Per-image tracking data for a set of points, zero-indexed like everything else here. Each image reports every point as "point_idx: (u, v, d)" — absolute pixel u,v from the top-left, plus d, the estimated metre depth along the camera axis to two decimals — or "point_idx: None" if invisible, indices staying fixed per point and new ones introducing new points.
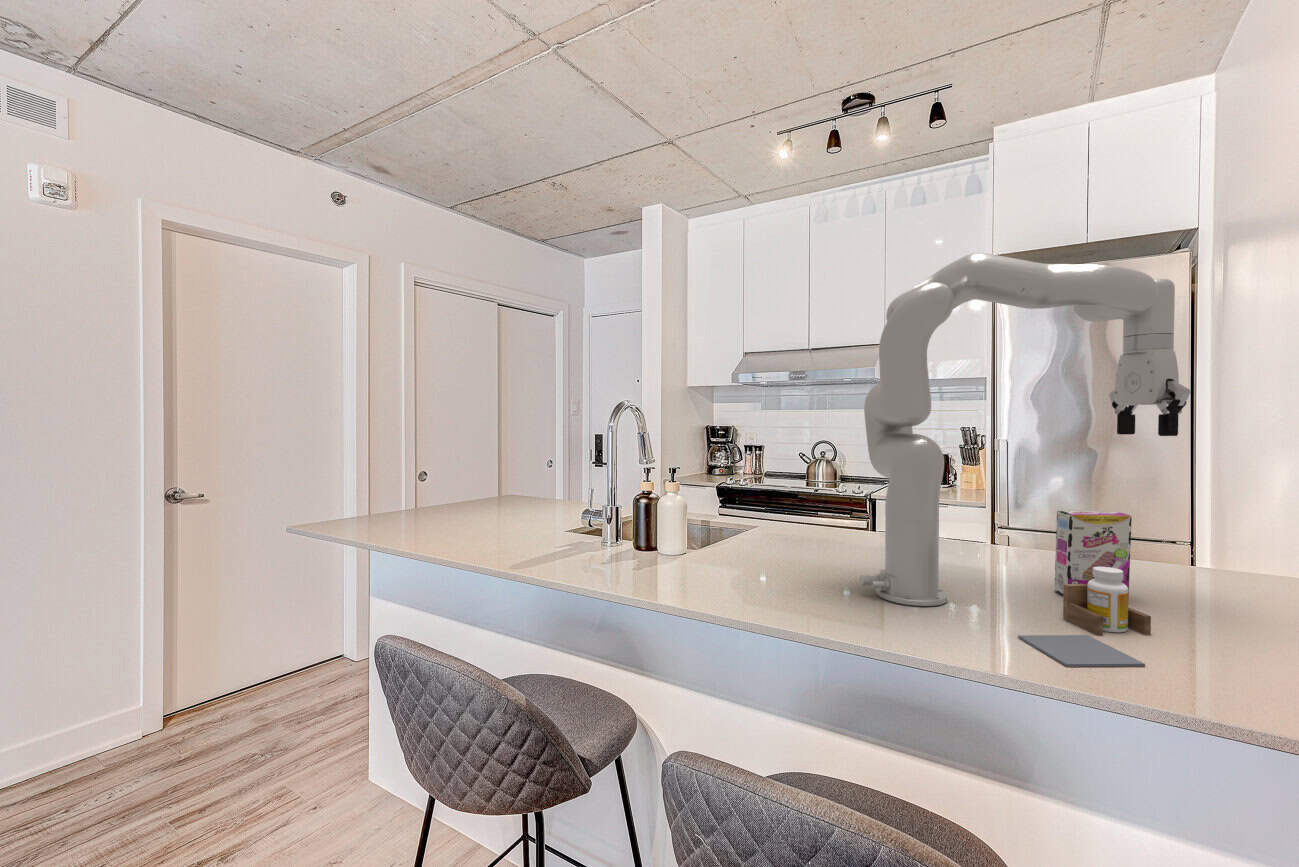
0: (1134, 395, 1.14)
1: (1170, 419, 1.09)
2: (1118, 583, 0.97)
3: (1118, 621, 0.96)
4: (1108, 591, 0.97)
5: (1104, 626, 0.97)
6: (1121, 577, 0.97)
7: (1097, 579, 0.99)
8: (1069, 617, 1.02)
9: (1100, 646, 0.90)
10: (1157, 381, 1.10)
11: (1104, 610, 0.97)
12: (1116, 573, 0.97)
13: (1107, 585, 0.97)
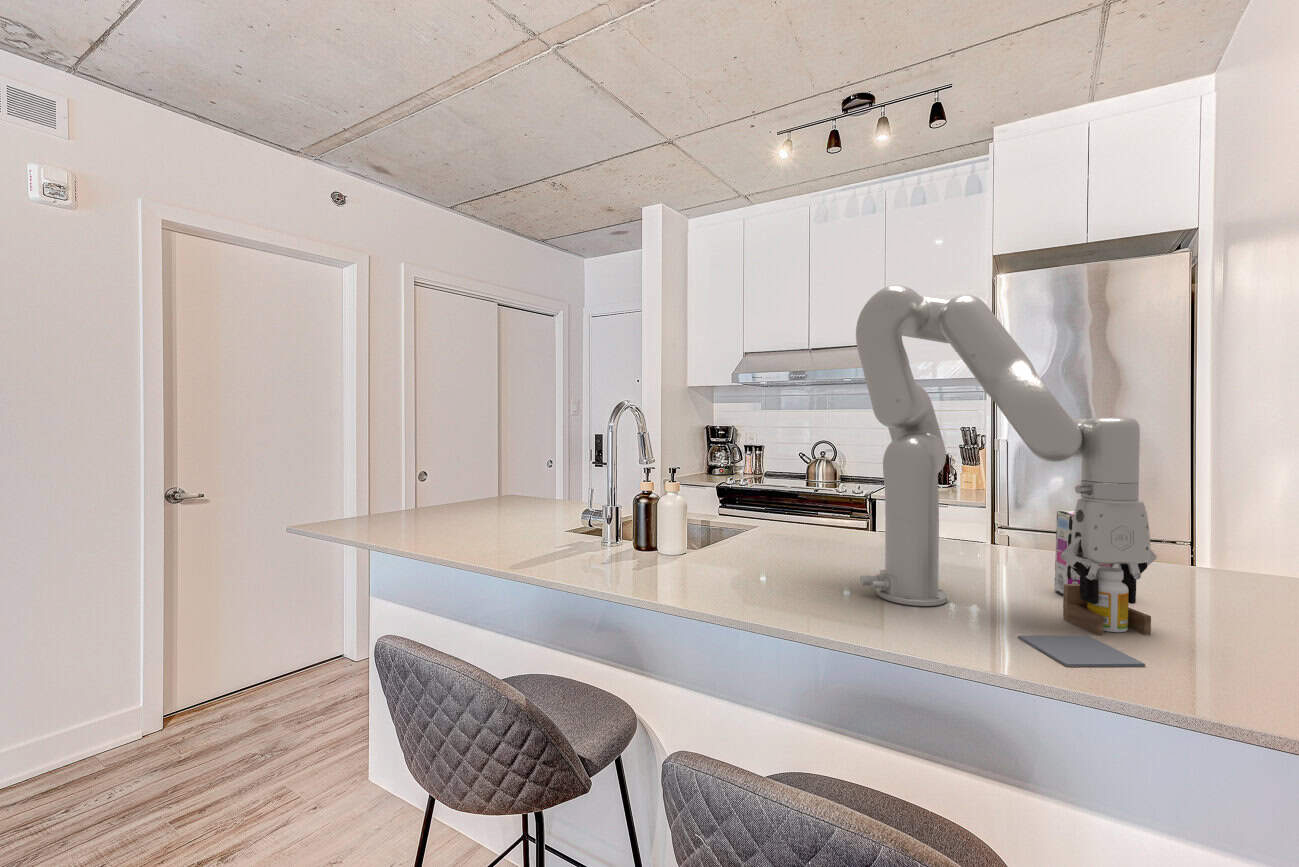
0: (1125, 553, 0.96)
1: None
2: (1118, 583, 0.97)
3: (1118, 621, 0.96)
4: (1108, 590, 0.97)
5: (1104, 626, 0.97)
6: (1121, 577, 0.97)
7: (1097, 579, 0.99)
8: (1069, 617, 1.02)
9: (1100, 646, 0.90)
10: None
11: (1104, 610, 0.97)
12: (1116, 573, 0.97)
13: (1107, 585, 0.97)
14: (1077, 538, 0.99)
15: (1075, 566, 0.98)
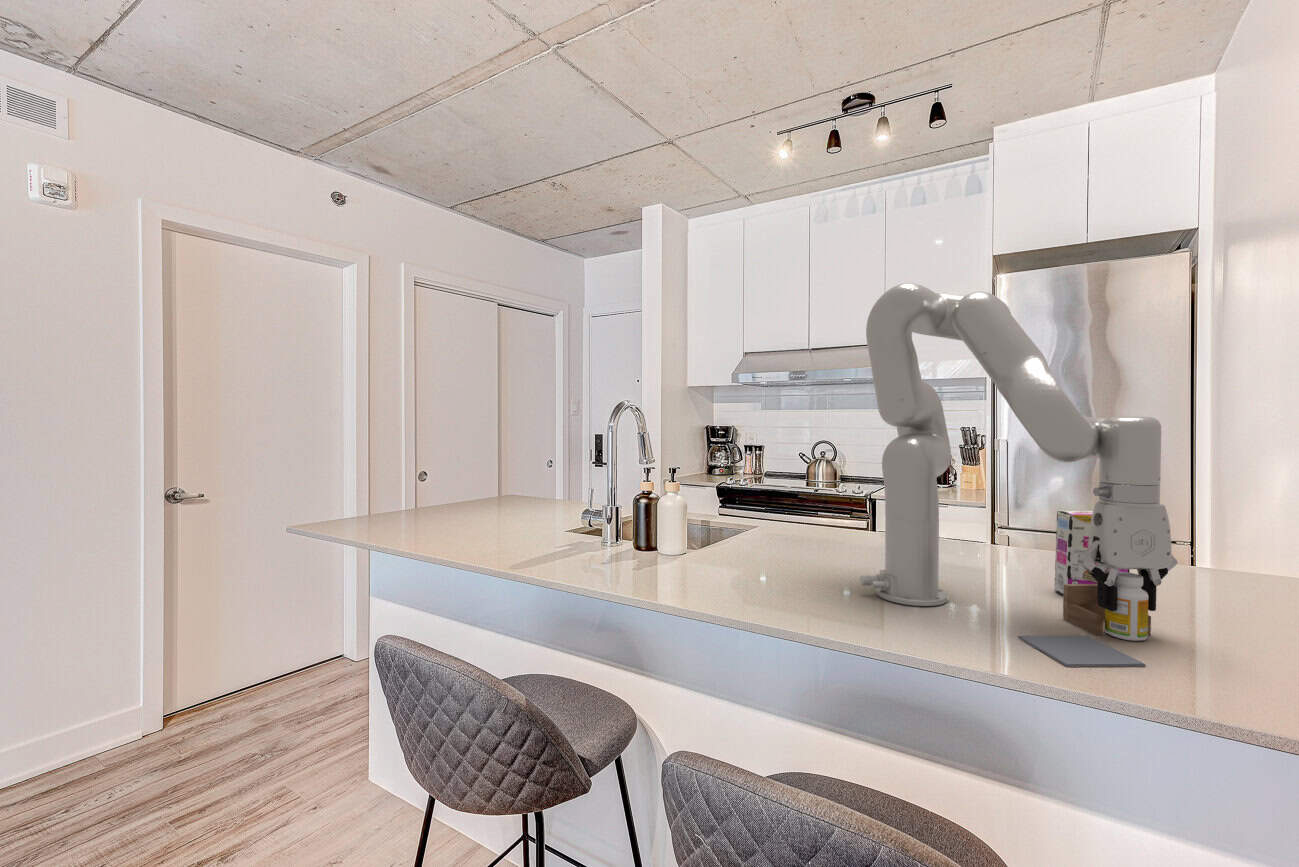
0: (1145, 558, 0.92)
1: None
2: (1138, 589, 0.93)
3: (1138, 629, 0.92)
4: (1127, 597, 0.93)
5: (1123, 634, 0.93)
6: (1141, 583, 0.93)
7: (1116, 585, 0.95)
8: (1069, 617, 1.02)
9: (1100, 646, 0.90)
10: None
11: (1124, 617, 0.93)
12: (1136, 579, 0.93)
13: (1126, 591, 0.93)
14: (1095, 542, 0.95)
15: (1093, 572, 0.94)
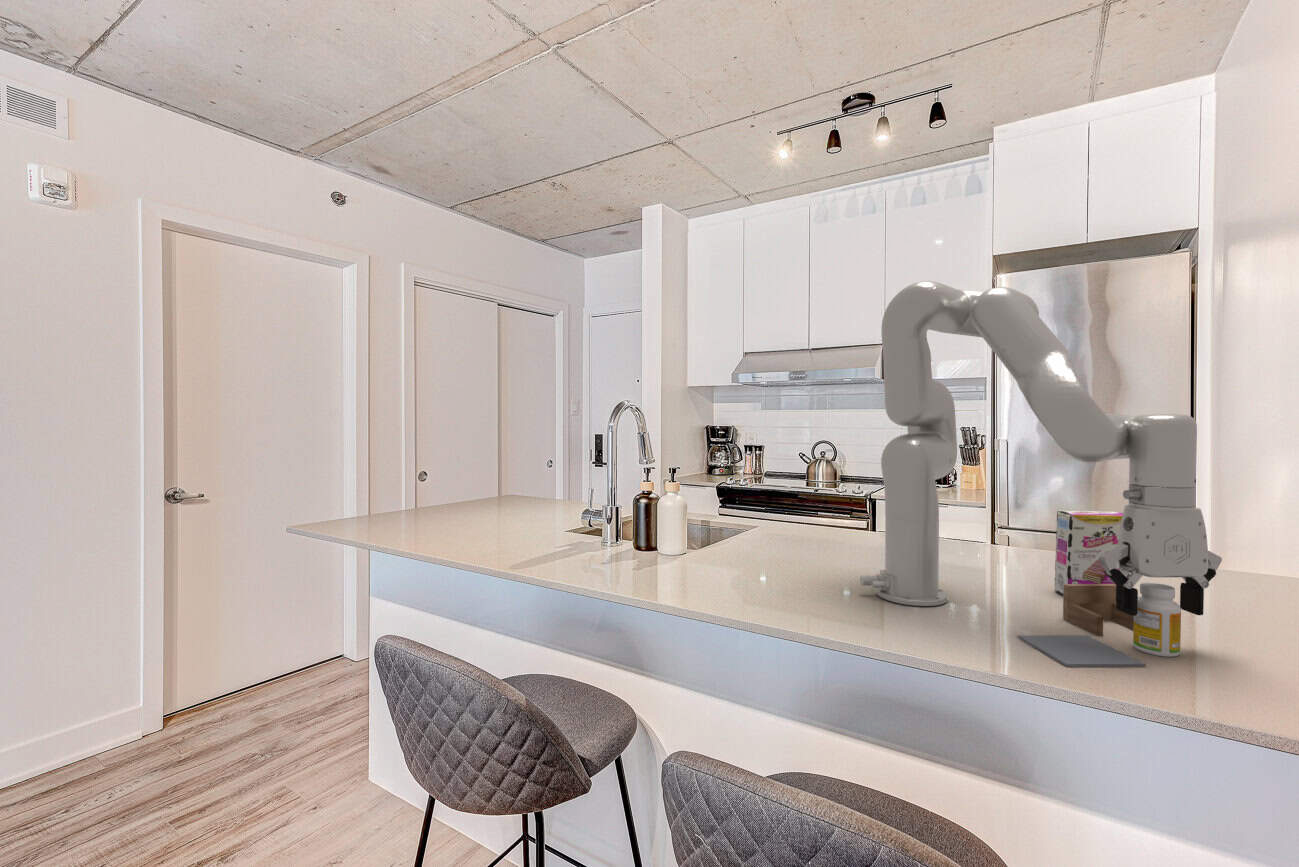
0: (1180, 566, 0.86)
1: None
2: (1169, 602, 0.87)
3: (1171, 644, 0.87)
4: (1158, 610, 0.87)
5: (1154, 649, 0.87)
6: (1173, 595, 0.87)
7: (1145, 597, 0.89)
8: (1069, 617, 1.02)
9: (1100, 646, 0.90)
10: None
11: (1155, 632, 0.87)
12: (1168, 591, 0.87)
13: (1157, 604, 0.87)
14: (1124, 545, 0.89)
15: (1111, 573, 0.88)
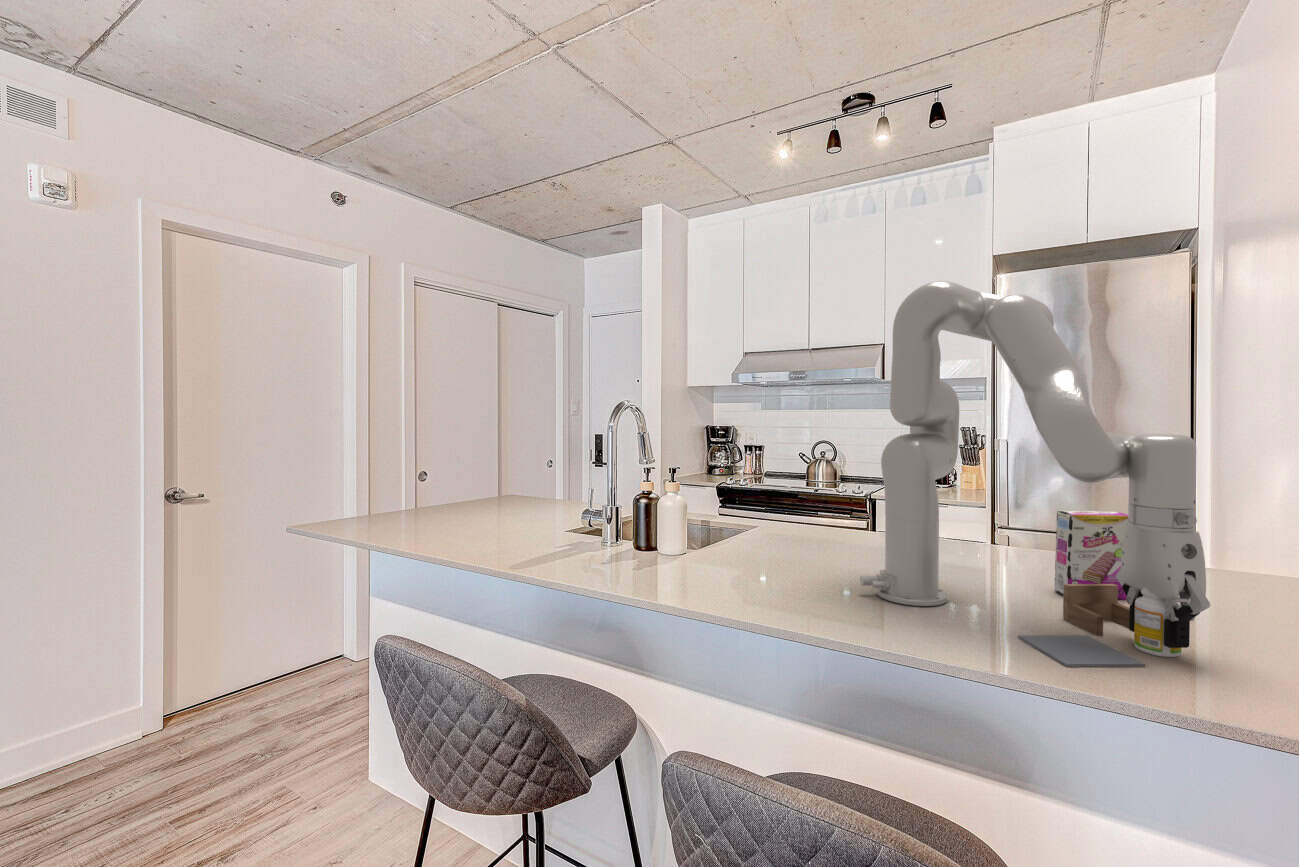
0: None
1: None
2: None
3: None
4: (1159, 611, 0.87)
5: (1155, 650, 0.87)
6: None
7: (1147, 597, 0.89)
8: (1069, 617, 1.02)
9: (1100, 646, 0.90)
10: None
11: (1156, 632, 0.87)
12: None
13: (1158, 604, 0.87)
14: (1189, 578, 0.84)
15: (1199, 611, 0.83)
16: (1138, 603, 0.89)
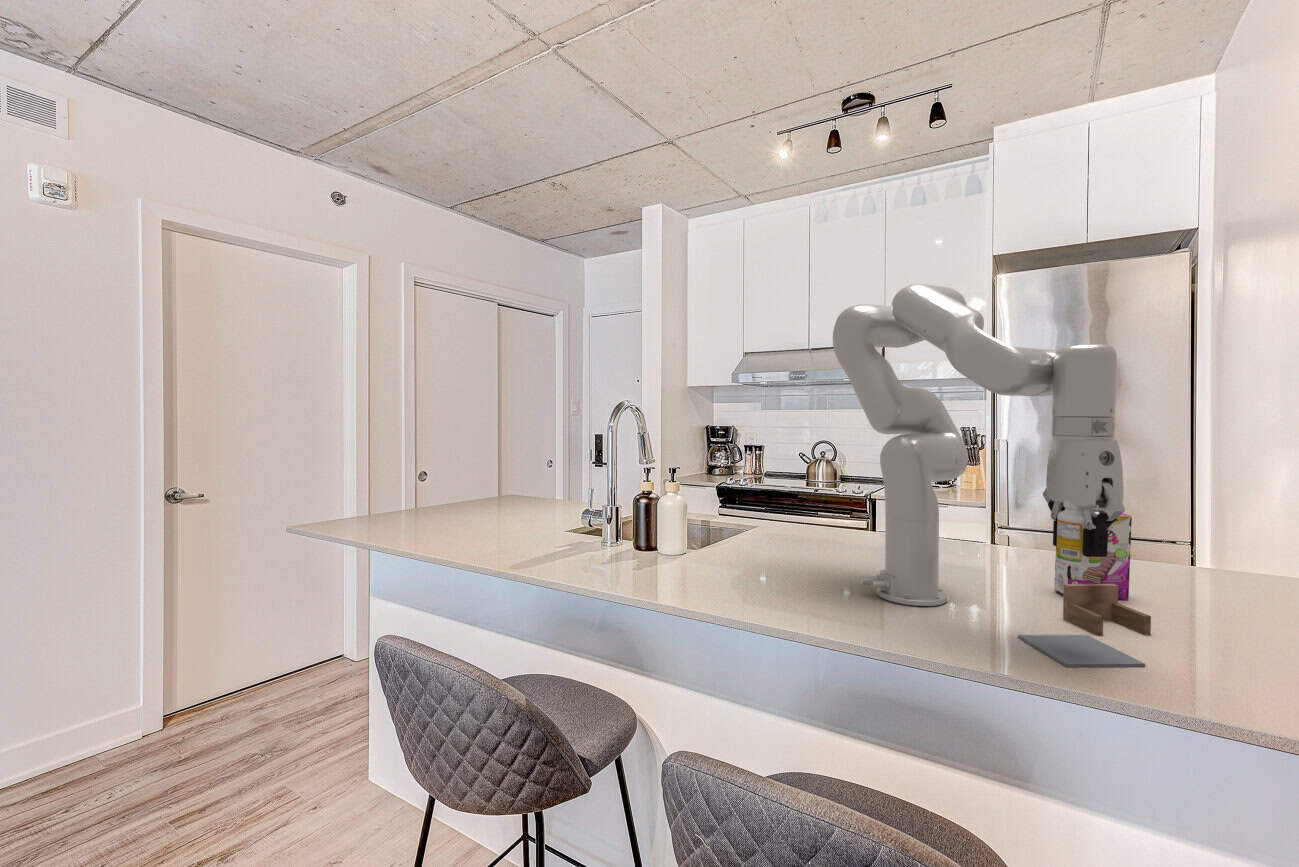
0: None
1: None
2: None
3: None
4: (1079, 521, 0.87)
5: (1074, 560, 0.87)
6: None
7: (1068, 509, 0.89)
8: (1069, 617, 1.02)
9: (1100, 646, 0.90)
10: None
11: (1075, 542, 0.87)
12: None
13: (1078, 515, 0.87)
14: (1106, 485, 0.84)
15: (1115, 518, 0.83)
16: (1060, 515, 0.89)
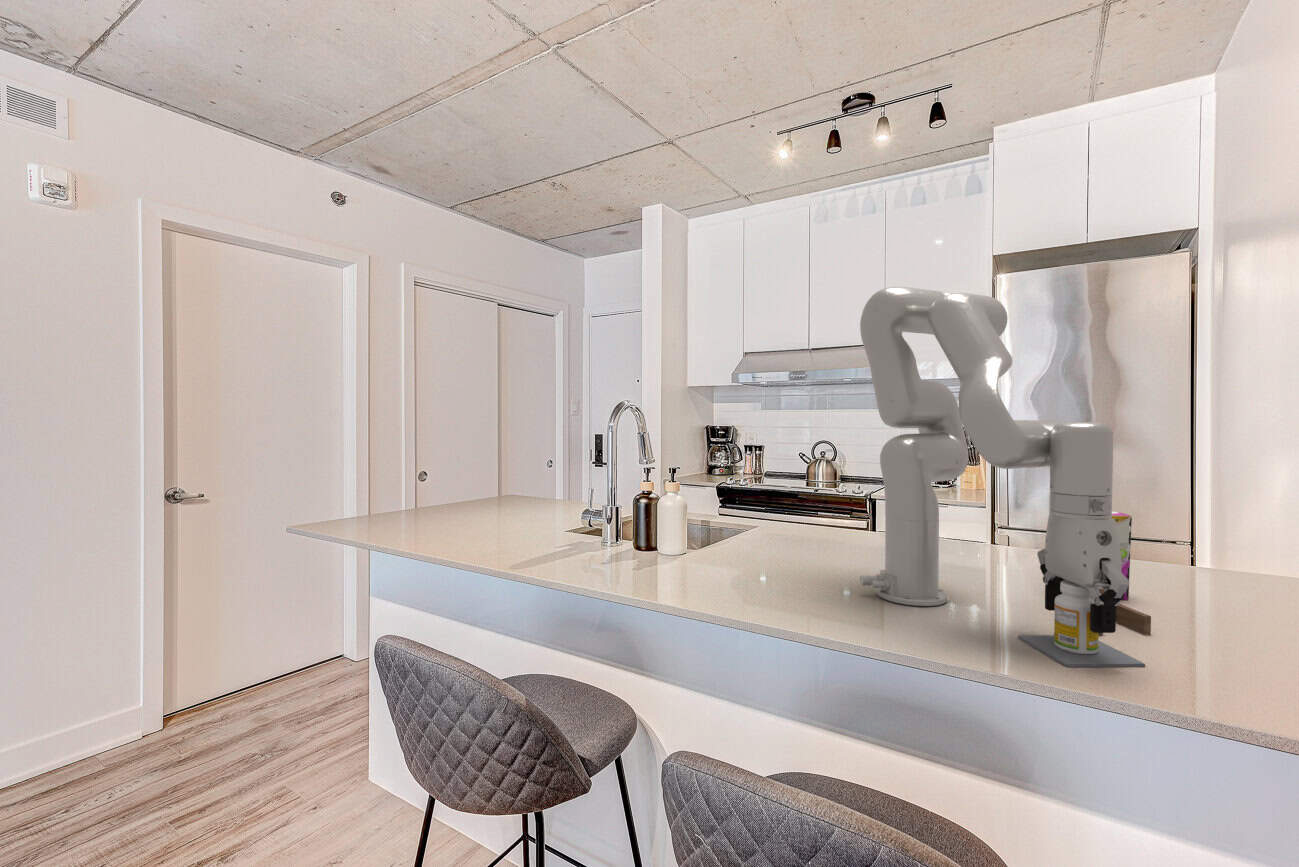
0: None
1: None
2: (1087, 599, 0.87)
3: (1088, 642, 0.87)
4: (1076, 608, 0.87)
5: (1072, 647, 0.87)
6: None
7: (1065, 595, 0.89)
8: None
9: (1100, 646, 0.90)
10: None
11: (1072, 629, 0.87)
12: (1085, 588, 0.87)
13: (1075, 602, 0.87)
14: (1105, 561, 0.83)
15: (1123, 595, 0.81)
16: (1057, 601, 0.89)
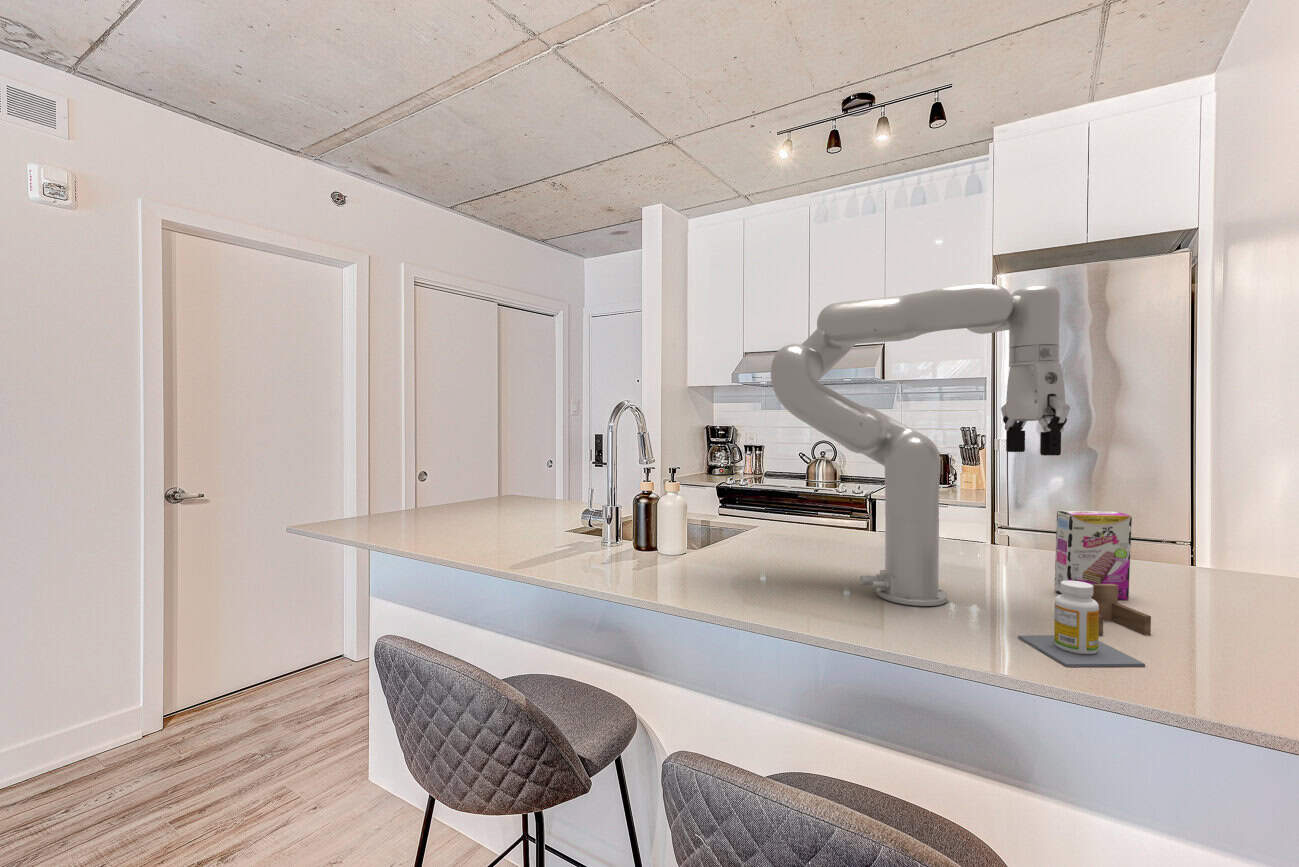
0: None
1: None
2: (1087, 599, 0.87)
3: (1088, 642, 0.87)
4: (1076, 608, 0.87)
5: (1072, 647, 0.87)
6: (1091, 593, 0.87)
7: (1065, 595, 0.89)
8: None
9: (1100, 646, 0.90)
10: None
11: (1072, 629, 0.87)
12: (1085, 588, 0.87)
13: (1075, 602, 0.87)
14: (1051, 396, 1.02)
15: (1065, 420, 1.00)
16: (1057, 600, 0.89)
